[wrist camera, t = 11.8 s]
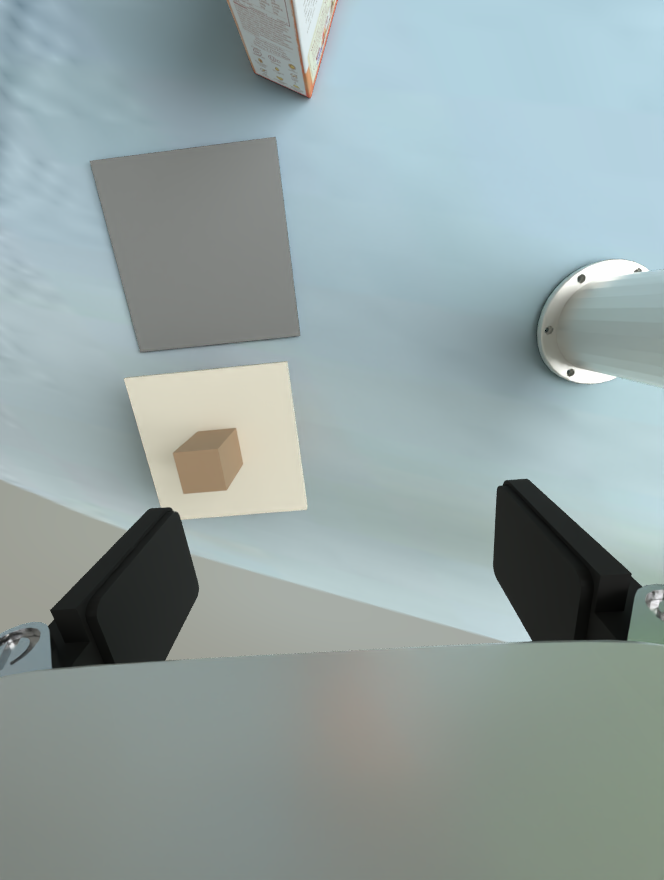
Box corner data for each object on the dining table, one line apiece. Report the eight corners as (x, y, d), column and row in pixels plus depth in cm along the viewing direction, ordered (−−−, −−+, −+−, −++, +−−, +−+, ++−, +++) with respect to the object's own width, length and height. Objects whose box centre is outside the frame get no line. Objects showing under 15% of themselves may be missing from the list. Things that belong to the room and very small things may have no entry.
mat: (276, 139, 35) (275, 136, 34) (300, 335, 41) (299, 335, 40) (93, 162, 36) (89, 161, 35) (142, 351, 42) (140, 352, 41)
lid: (287, 361, 36) (276, 372, 29) (307, 506, 41) (301, 542, 35) (128, 377, 37) (83, 391, 30) (168, 517, 42) (137, 554, 35)
